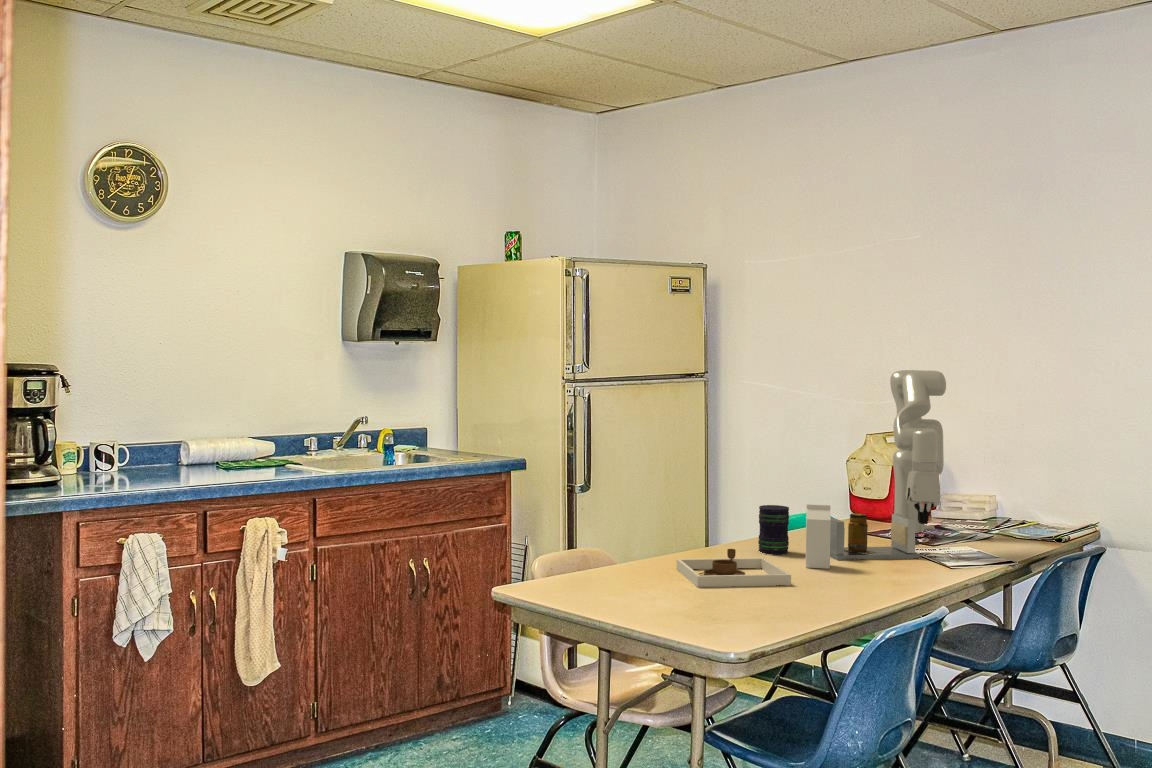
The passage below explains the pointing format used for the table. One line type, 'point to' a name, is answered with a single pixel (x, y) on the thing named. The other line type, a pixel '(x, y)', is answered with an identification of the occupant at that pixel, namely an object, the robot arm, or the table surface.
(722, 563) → the place setting
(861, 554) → the vise base
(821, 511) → the milk carton
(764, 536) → the storage jar
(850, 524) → the condiment
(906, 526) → the block
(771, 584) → the serving tray rim
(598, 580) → the table surface
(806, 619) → the table surface
